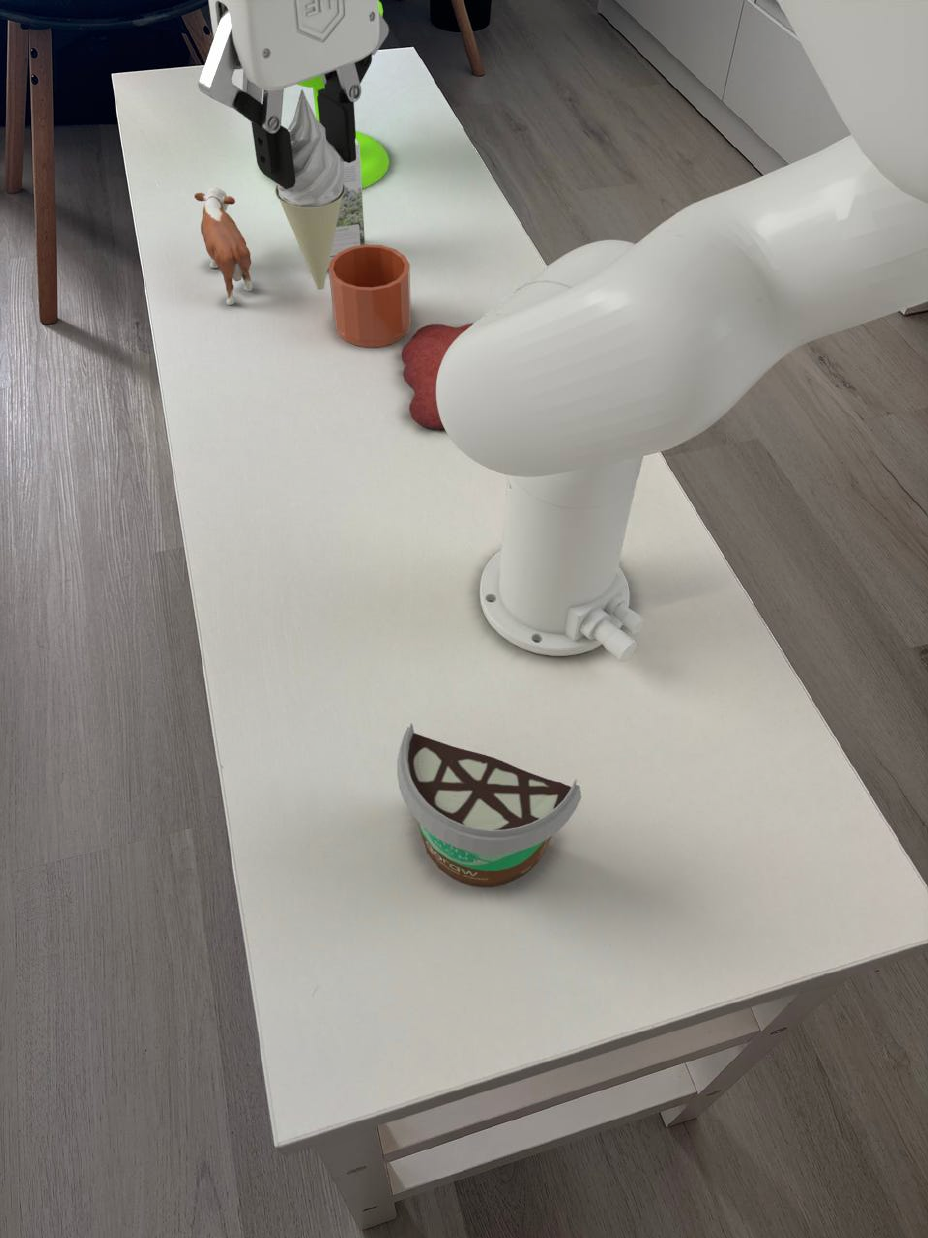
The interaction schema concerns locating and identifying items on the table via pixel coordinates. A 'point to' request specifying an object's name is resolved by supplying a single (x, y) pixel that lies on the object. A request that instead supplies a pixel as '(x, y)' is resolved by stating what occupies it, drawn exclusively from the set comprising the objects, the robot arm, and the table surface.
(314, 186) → the ice cream cone
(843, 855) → the table surface
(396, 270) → the holder cup
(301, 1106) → the table surface
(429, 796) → the food container
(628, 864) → the table surface
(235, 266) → the bull figurine
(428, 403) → the patty
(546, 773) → the table surface
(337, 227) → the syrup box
